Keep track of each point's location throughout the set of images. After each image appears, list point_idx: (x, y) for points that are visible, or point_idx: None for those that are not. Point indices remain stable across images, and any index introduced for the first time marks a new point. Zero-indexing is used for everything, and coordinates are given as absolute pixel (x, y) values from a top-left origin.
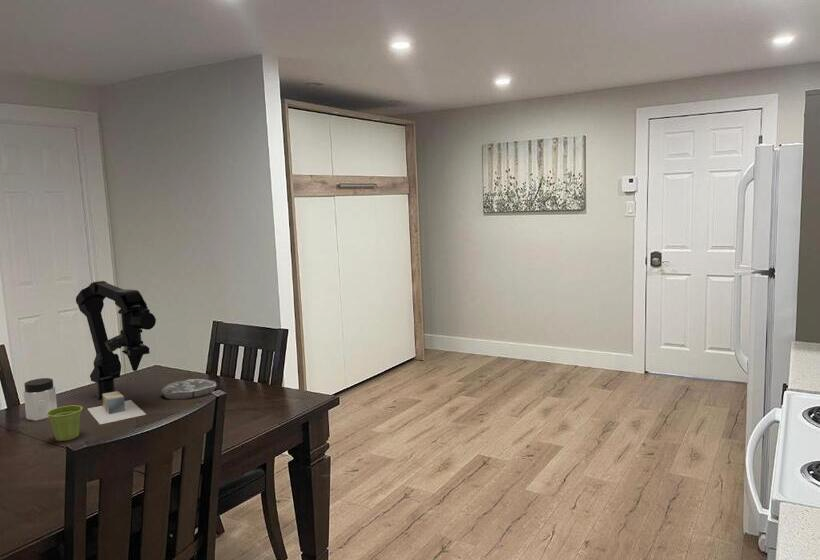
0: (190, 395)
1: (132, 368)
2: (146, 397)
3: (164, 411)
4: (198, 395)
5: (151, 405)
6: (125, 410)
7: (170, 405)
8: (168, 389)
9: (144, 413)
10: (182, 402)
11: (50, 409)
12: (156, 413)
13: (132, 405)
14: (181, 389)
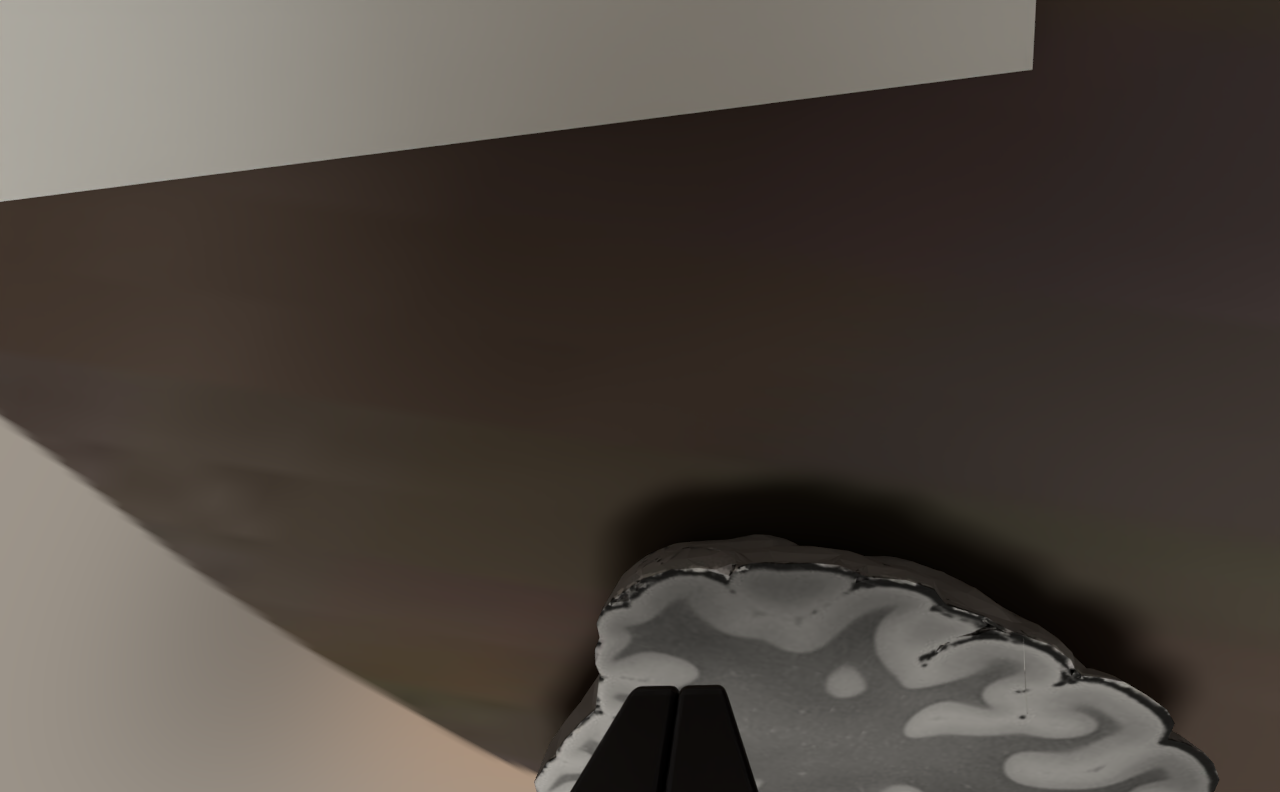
0: (552, 742)
1: (667, 757)
2: (1051, 330)
3: (146, 415)
4: None
5: (517, 326)
6: None
7: (393, 511)
8: (846, 657)
9: (43, 186)
10: (459, 623)
11: None
12: (81, 323)
13: (602, 62)
14: None
